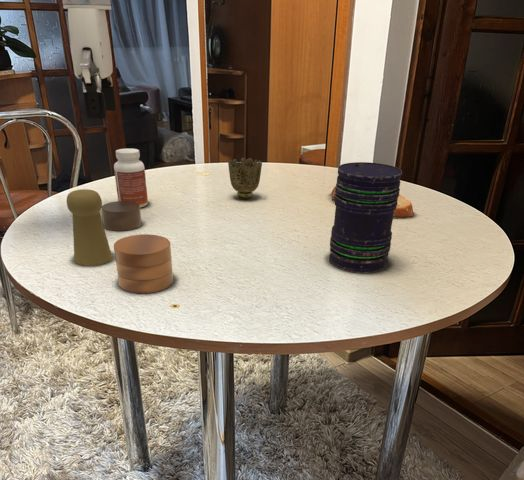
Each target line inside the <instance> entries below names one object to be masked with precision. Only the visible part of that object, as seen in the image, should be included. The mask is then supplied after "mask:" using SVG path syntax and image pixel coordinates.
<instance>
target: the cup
mask: <svg viewBox="0 0 524 480" xmlns="http://www.w3.org/2000/svg"><path fill="white" fill-rule="evenodd" d="M227 165H228V174H229V180H230V184H231V187H232V188H233V190H234V191H236V197H237V198H238V199H239V200H245V201H246V200H250V199H252V198H253V196H254V193H253V192H254V191H256V190H257V189H258V187H259V184H260V181H261V175H262V174H261V173H262V168H263V167H262V166H263V162H262V161H261V160H260V159H259V160H258V159H254V160H253V159H252V158H251V157H249V158H244V157H242V158H241V159H240V161H237V159H236V158H233V160H232V159H229V161H227Z"/></svg>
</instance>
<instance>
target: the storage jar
mask: <svg viewBox="0 0 524 480" xmlns="http://www.w3.org/2000/svg"><path fill="white" fill-rule="evenodd" d="M402 175H403V171H402V169H401V168H398V167H397V166H393V165H390V164H386V163H378V162H368V161H364V162H363V161H357V162H355V161H354V162H346V163H342V164H339V166H337V176H336V183H335V186H336V188H335V198H334V199H333V201H334V205H335V209H334V220H333V225H332V227H331V231H330V232H331V233H330V239H329V252H330V254H329V255H328V262H329V263H330V264H331V265H332V266H333V267H335V268H337V269H339V270H342V271H345V272H350V273H354V274H355V273H357V274H371V273H377V272H381V271H382V270H384V269H385V268H387V265H388V257H389V254H390V251H391V246H392V239H393V237H392V236H393V232H392V226H393V219H394V217H393V215H394V210H395V209H396V207H397V204H398V203H397V201H398V197H399V194H400V190H401V179H402Z"/></svg>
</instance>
